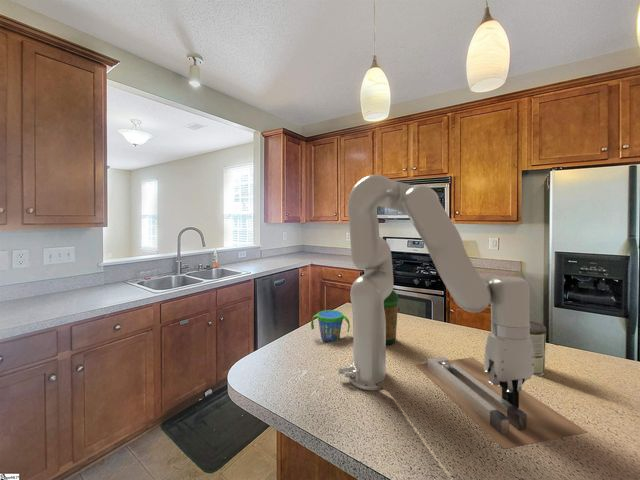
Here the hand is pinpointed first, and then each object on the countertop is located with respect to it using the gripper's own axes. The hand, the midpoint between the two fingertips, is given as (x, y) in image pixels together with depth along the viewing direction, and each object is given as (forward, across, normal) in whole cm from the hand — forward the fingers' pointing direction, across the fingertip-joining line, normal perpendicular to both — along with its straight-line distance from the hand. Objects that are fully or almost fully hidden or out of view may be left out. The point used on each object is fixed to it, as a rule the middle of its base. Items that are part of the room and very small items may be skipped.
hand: (510, 405), depth 67 cm
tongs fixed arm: (+1, +5, -8) cm, 10 cm away
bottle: (+2, +13, -44) cm, 46 cm away
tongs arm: (+1, +4, -7) cm, 8 cm away
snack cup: (+1, +31, -54) cm, 62 cm away
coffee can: (+3, -23, -18) cm, 29 cm away
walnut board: (+3, 0, -8) cm, 8 cm away
